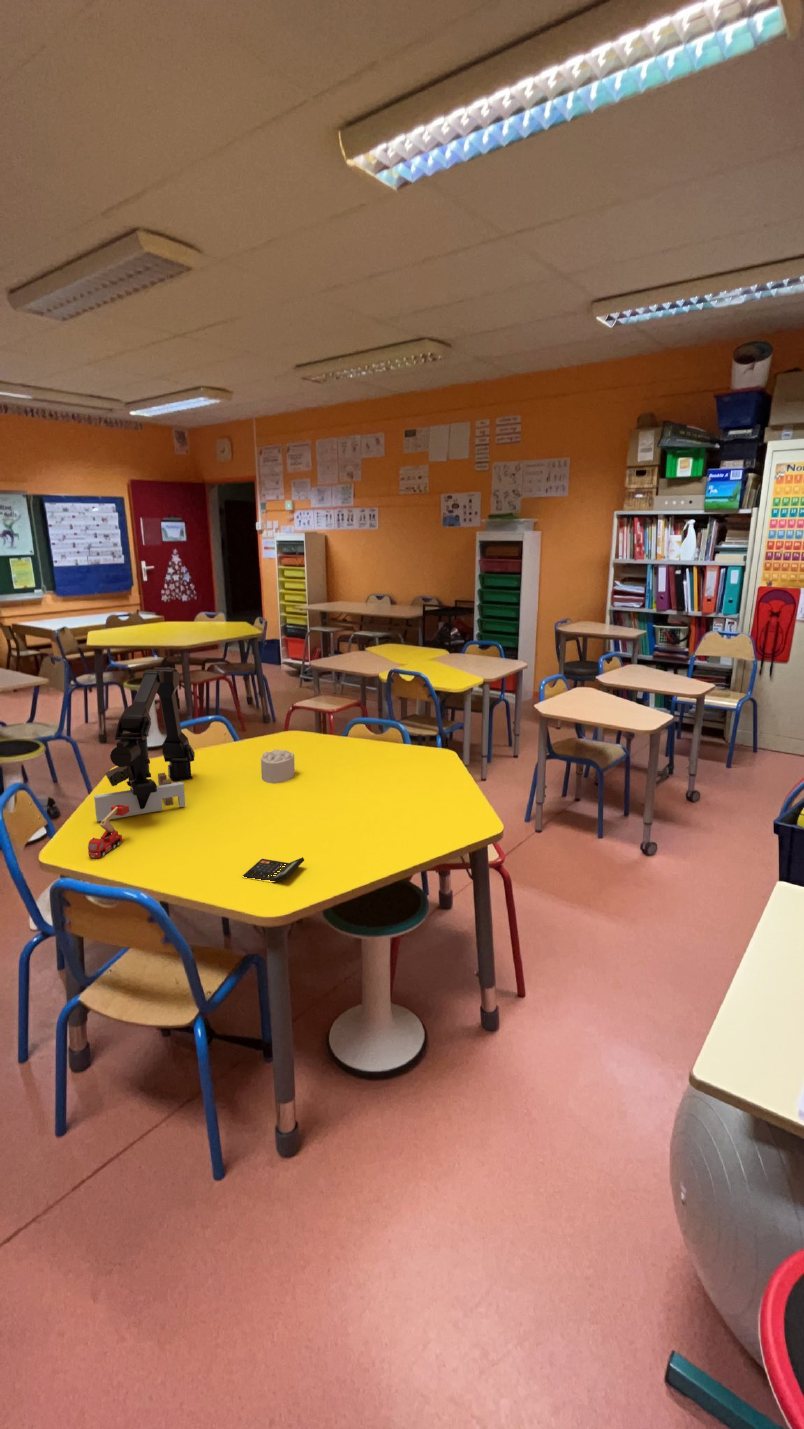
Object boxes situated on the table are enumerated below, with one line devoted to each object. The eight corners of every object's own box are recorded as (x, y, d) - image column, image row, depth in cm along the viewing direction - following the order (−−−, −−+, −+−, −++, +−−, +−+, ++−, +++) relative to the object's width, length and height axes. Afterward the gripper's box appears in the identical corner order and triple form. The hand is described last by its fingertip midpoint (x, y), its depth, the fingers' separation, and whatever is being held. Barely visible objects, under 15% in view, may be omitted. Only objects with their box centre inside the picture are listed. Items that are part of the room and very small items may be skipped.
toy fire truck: (87, 858, 161) (83, 822, 159) (120, 836, 174) (117, 802, 172) (99, 860, 161) (95, 823, 158) (132, 837, 174) (129, 803, 171)
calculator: (261, 861, 162) (261, 850, 162) (304, 868, 159) (304, 857, 158) (242, 878, 154) (242, 867, 153) (287, 886, 150) (287, 874, 150)
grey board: (183, 803, 196) (182, 781, 194) (185, 806, 194) (183, 784, 192) (96, 818, 183) (94, 795, 182) (97, 821, 182) (94, 797, 180)
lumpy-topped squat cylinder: (297, 771, 229) (296, 748, 226) (286, 784, 216) (286, 759, 214) (268, 770, 230) (267, 746, 228) (256, 782, 217) (255, 757, 215)
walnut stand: (159, 794, 204) (157, 773, 203) (165, 793, 205) (164, 772, 204) (166, 805, 196) (164, 783, 194) (173, 804, 197) (171, 782, 195)
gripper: (102, 751, 188) (106, 801, 192) (111, 769, 173) (116, 824, 177) (142, 745, 194) (146, 795, 198) (155, 763, 178) (159, 816, 182)
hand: (141, 807), depth 188 cm, fingers closed on grey board, 2 cm apart
